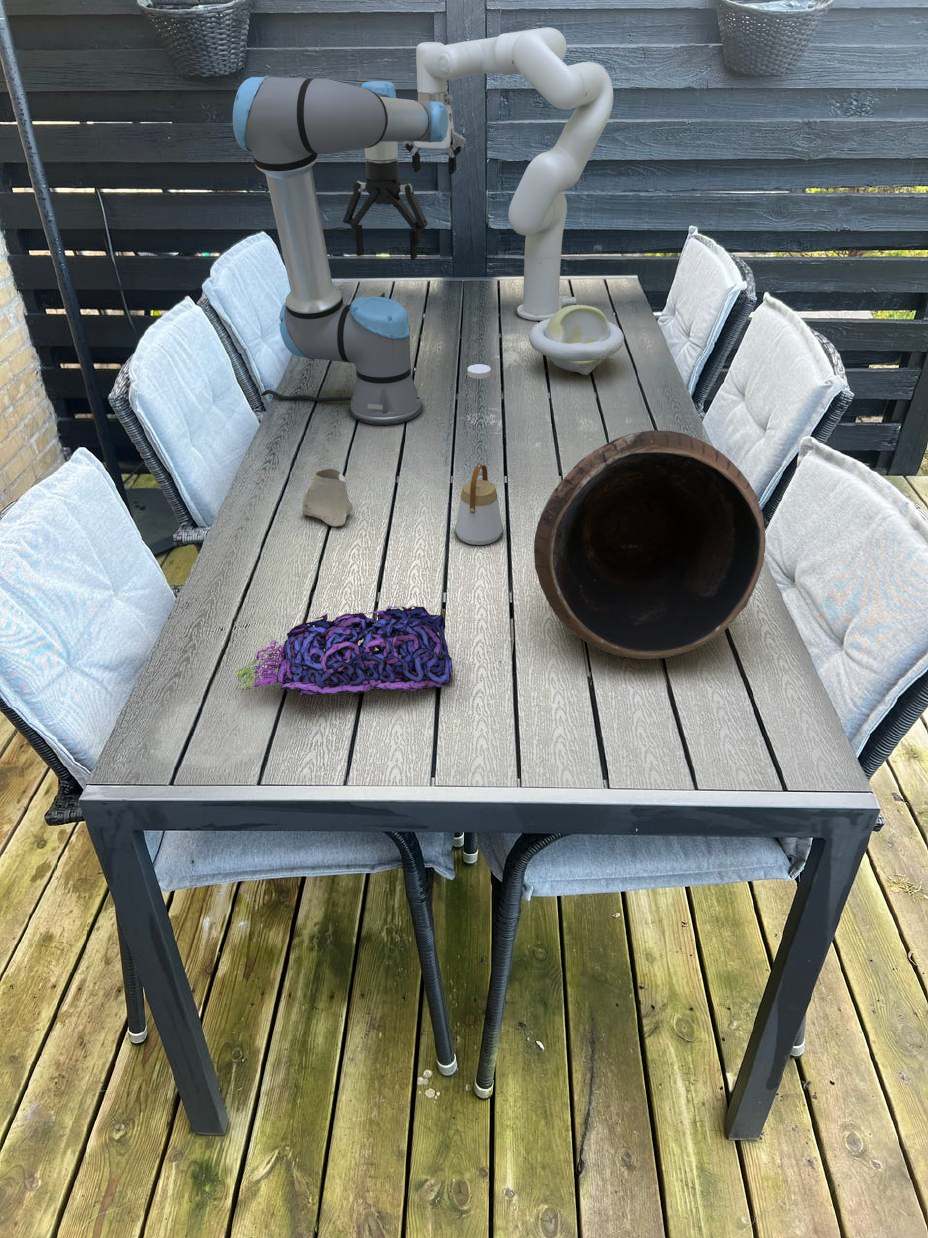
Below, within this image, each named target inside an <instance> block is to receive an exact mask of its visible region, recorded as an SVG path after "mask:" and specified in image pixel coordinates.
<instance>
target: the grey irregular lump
mask: <svg viewBox="0 0 928 1238" xmlns="http://www.w3.org/2000/svg"><path fill="white" fill-rule="evenodd" d="M347 489H348V488H347V480H346V478H345V476H344V475H343V474H342V473H341V472H340V471H338V470H337V469H334V468H326V469H321V470H319V471H316V473H315V475H314V476H313V478H312V481H311V482H310V485H309V486H308V487H307V490H306V491H305V493H304V496H303V498H302V508H301V513H302V514H303V515H305V516H307V517H314V518H317V519H319V520H322V521H323V522H324V523H325V524H327V525H328V526H330V527H334V528H336V527H342V526H344V525H345V524H346V520H347V516H348V515H349V514H351V512H352V511H353V503H352V502H351V501H350V499H349V495H348V490H347Z"/></svg>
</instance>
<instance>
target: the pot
mask: <svg viewBox="0 0 928 1238" xmlns="http://www.w3.org/2000/svg"><path fill="white" fill-rule="evenodd" d="M535 530H536V531H535V534H534V540H533V545H534V546H533V558H534V569H535V572H536V576H537V579H538V582H539V585H540V587H541V590H542V592H543V594H544V597H545V599H546V601H547V603H548V605H549V607H550V608H551V610H552V612H553V613H554V614H555V616H556V617H557V619H558V620H559V621H560V622H561V623H562V624H563V625H564V626H565V627H566V628H568V629H569V630H570V631H571V632H572V633H573V634H574V635H576V636H577V637H578V638H580V639H581V640H582V641H583V642H585V643H586V644H589V645H591V646H593V647H594V648H597V649H599V650H601V651H603V652H606V653H608V654H611V655H614V656H616V657H623V658H631V659H639V660H654V659H668V658H672V657H673V656H678V655H682V654H686V653H688V652H691V651H693V650H695V649H697V648H699V647H701V646H703V645H705V644H707V643H709V642H710V641H712V640H713V639H715V638H716V637H718V636H720V635H721V634H722V633H723V632H725V631H726V630H727V629H728V628H729V626H730V625H731V624H732V623H734V622H735V620H736V619H737V618H738V616H739V614H740V613H741V612H742V611H743V610H744V609H745V608H747V606H748V603H749V601H750V599H751V597H752V595H753V594H754V591H755V589H756V588H757V587H756V586H757V585H756V584H757V583H758V581H759V579H760V576H761V573H762V569H763V566H764V561H765V553H766V542H767V541H766V539H767V538H766V530H765V521H764V513H763V511H762V509H761V506H760V502H759V499H758V496H757V494H756V492H755V490H754V489H753V487H752V485H751V483H750V482H749V480H748V479H747V477H746V476H745V475H744V474H743V472H742V471H741V470H740V469H739V467H738V466H736V465H735V464H734V463H733V461H732V460H730V459H729V458H728V457H727V456H726V455H725V454H724V453H723V452H721V450H718V449H717V448H716V447H714V446H713V445H711V444H709V443H707V442H705V441H703V440H702V439H699V438H696V437H693V436H690V435H688V434H685V433H682V432H677V431H673V430H659V429H657V430H655V429H652V430H645V431H638V432H634V433H633V432H632V433H629V434H626V435H623V436H620V437H618V438H615V439H613V440H611V441H610V442H608V443H606V444H604V445H602V446H600V447H599V448H596V449H595V450H593V451H592V452H590V453H589V454H587V455H585V456H584V457H583V458H582V459H581V460H580V461H578V462H577V463H576V464H575V465H574V466H573V468H572V469H571V470H570V471H569V472H568V473H567V474H566V476H565V477H564V478H563V479H562V480H561V481H560V482H559V483H558V485H557V486H556V487H555V488H554V489H553V491H552V493H551V494H550V496H549V497H548V499H547V501H546V503H545V506H544V507H543V509H542V510H541V513H540V516H539V520H538V522H537V525H536V529H535Z"/></svg>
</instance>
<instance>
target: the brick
mask: <svg viewBox="0 0 928 1238" xmlns="http://www.w3.org/2000/svg"><path fill="white" fill-rule="evenodd" d="M371 296H377V297H384V298H386V293H385V291H380V290H379V291H378V290H370V289H369V290H368V289H366V290H365V291H364V292H363V293H361V294H360V295H359V296H358V297H357V298H360V297H371Z"/></svg>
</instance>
